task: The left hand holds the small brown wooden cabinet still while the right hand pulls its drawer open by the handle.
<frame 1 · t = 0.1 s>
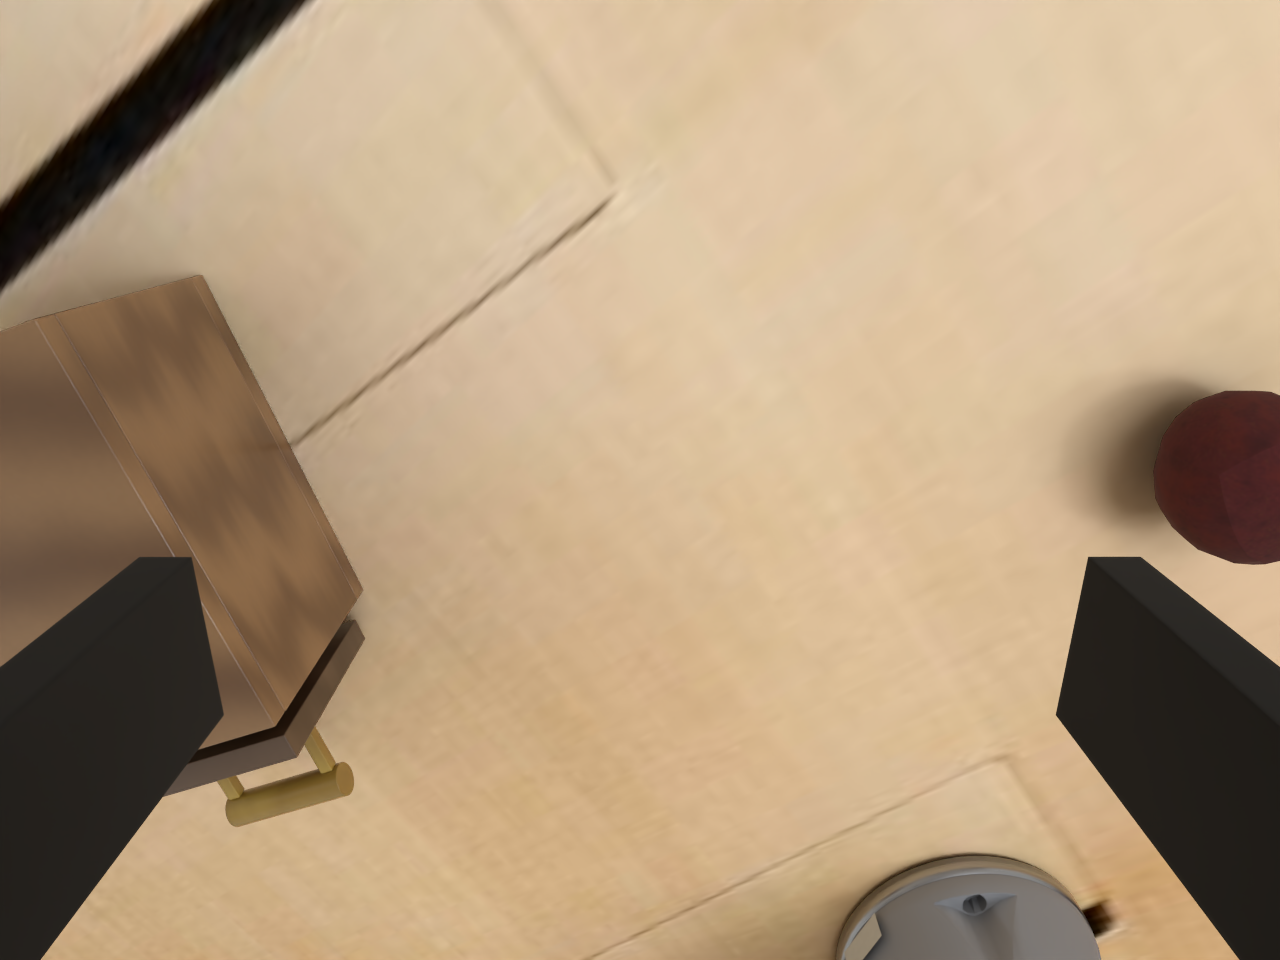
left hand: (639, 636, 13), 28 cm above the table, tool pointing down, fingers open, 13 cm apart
cabinet: (194, 474, 42), on the table
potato: (1196, 448, 41), on the table
drawer: (193, 627, 38), point 6 cm above the table, slide at 1.0 cm
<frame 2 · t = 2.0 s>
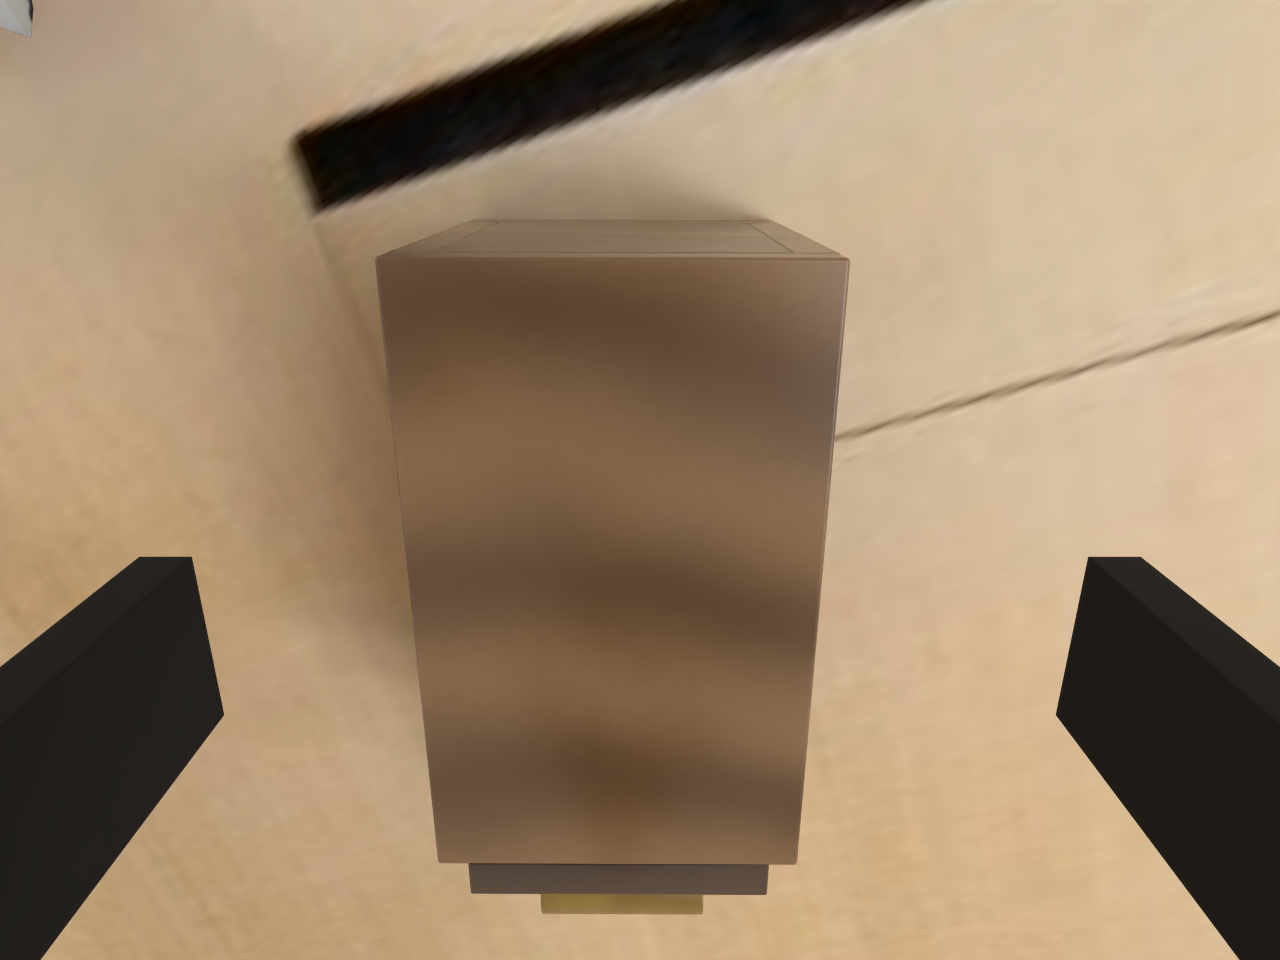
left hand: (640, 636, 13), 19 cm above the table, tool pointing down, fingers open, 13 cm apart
cabinet: (624, 455, 32), on the table
drawer: (621, 665, 28), point 6 cm above the table, slide at 1.0 cm
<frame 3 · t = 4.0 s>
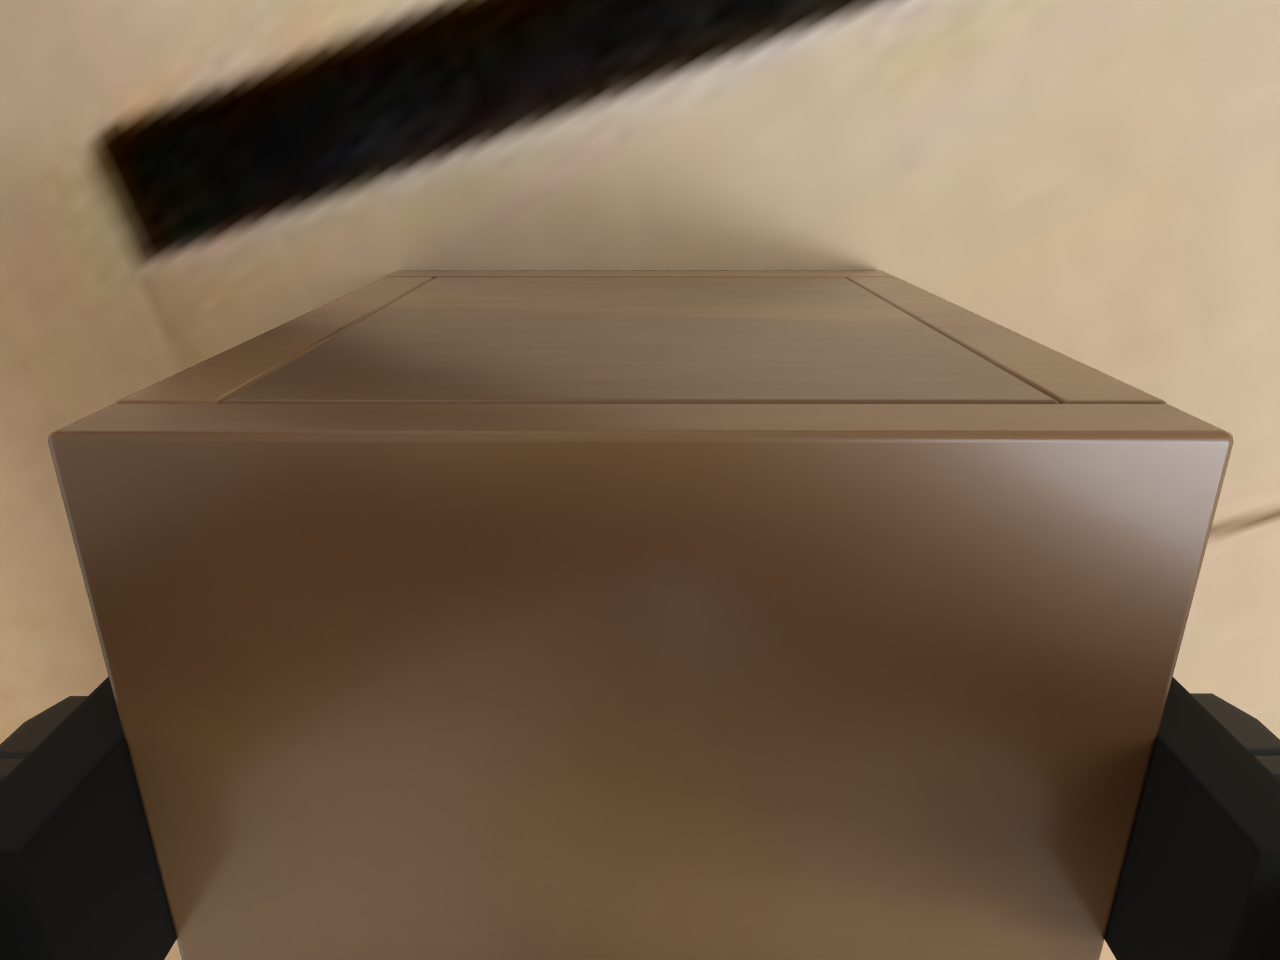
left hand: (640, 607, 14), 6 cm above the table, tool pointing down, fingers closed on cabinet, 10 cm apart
cabinet: (640, 621, 21), on the table, touching left hand
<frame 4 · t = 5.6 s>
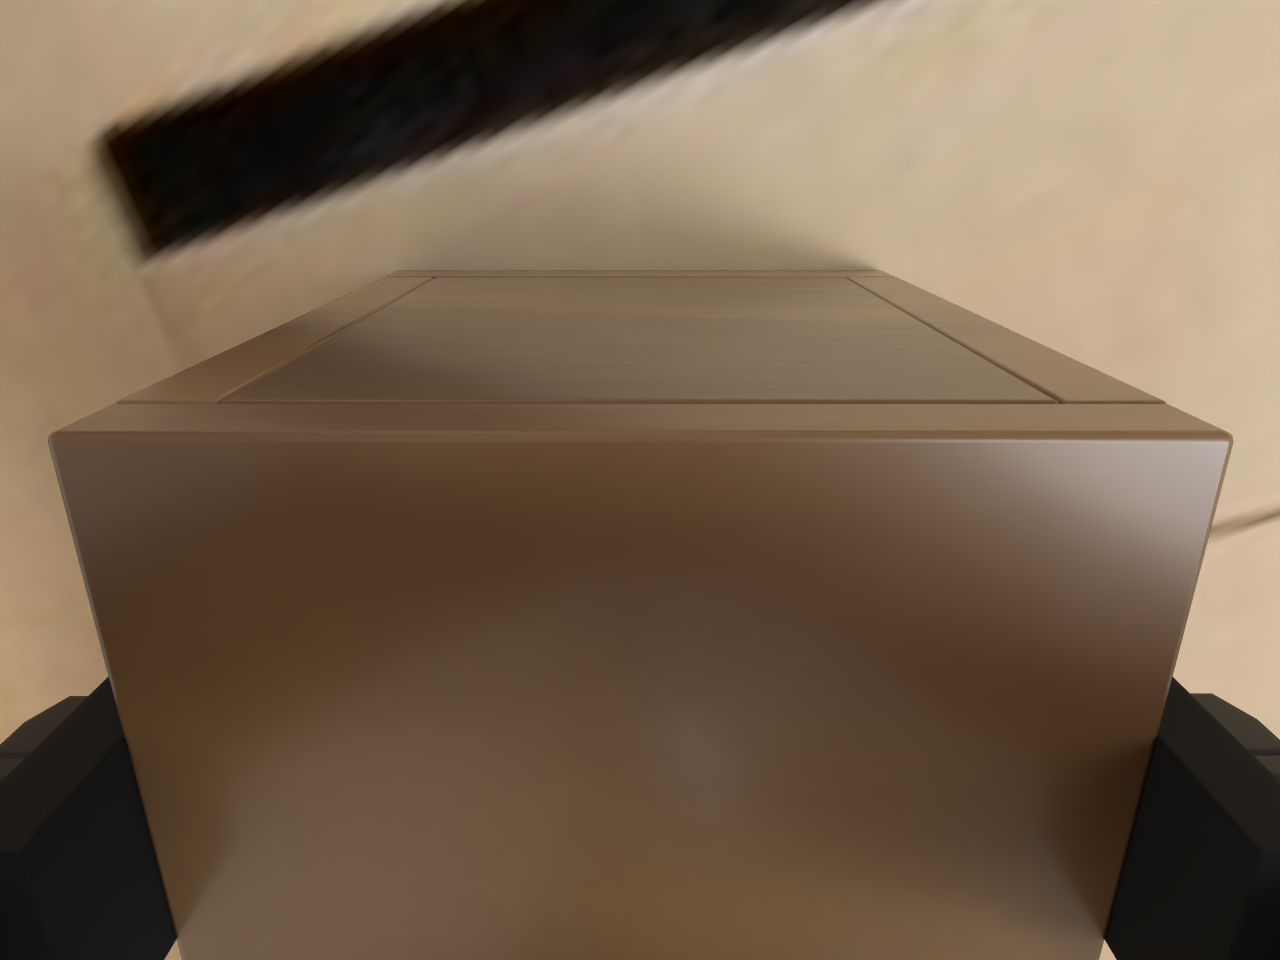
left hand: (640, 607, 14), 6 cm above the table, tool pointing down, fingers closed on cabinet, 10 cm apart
cabinet: (640, 621, 21), on the table, touching left hand
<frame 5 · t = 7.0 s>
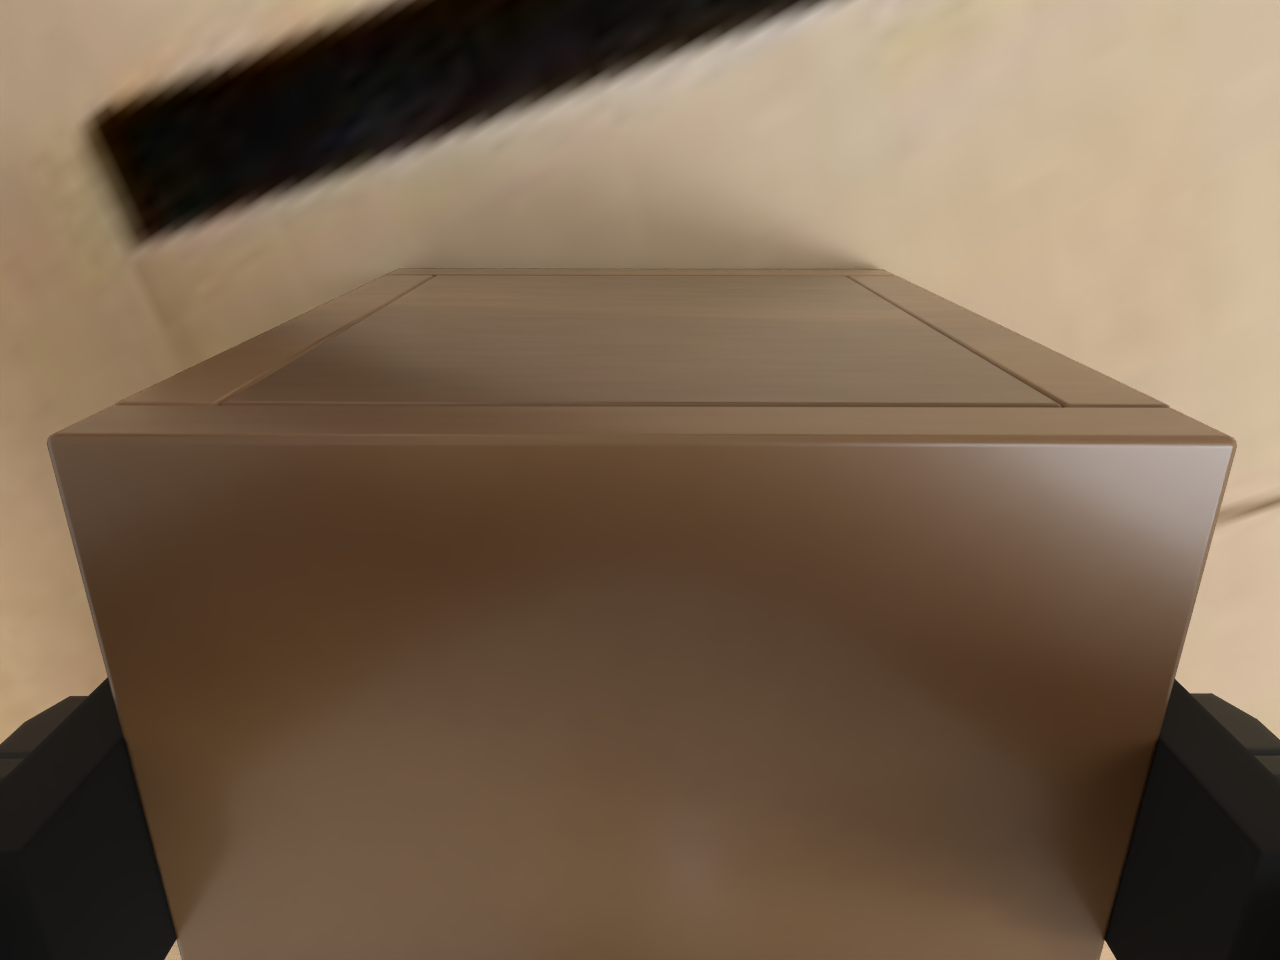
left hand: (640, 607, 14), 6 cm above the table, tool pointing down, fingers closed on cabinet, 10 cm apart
cabinet: (640, 620, 21), on the table, touching left hand
when the left hand's fingers open (6 cm above the table, at t = 8.4 s): cabinet stays where it is, on the table.
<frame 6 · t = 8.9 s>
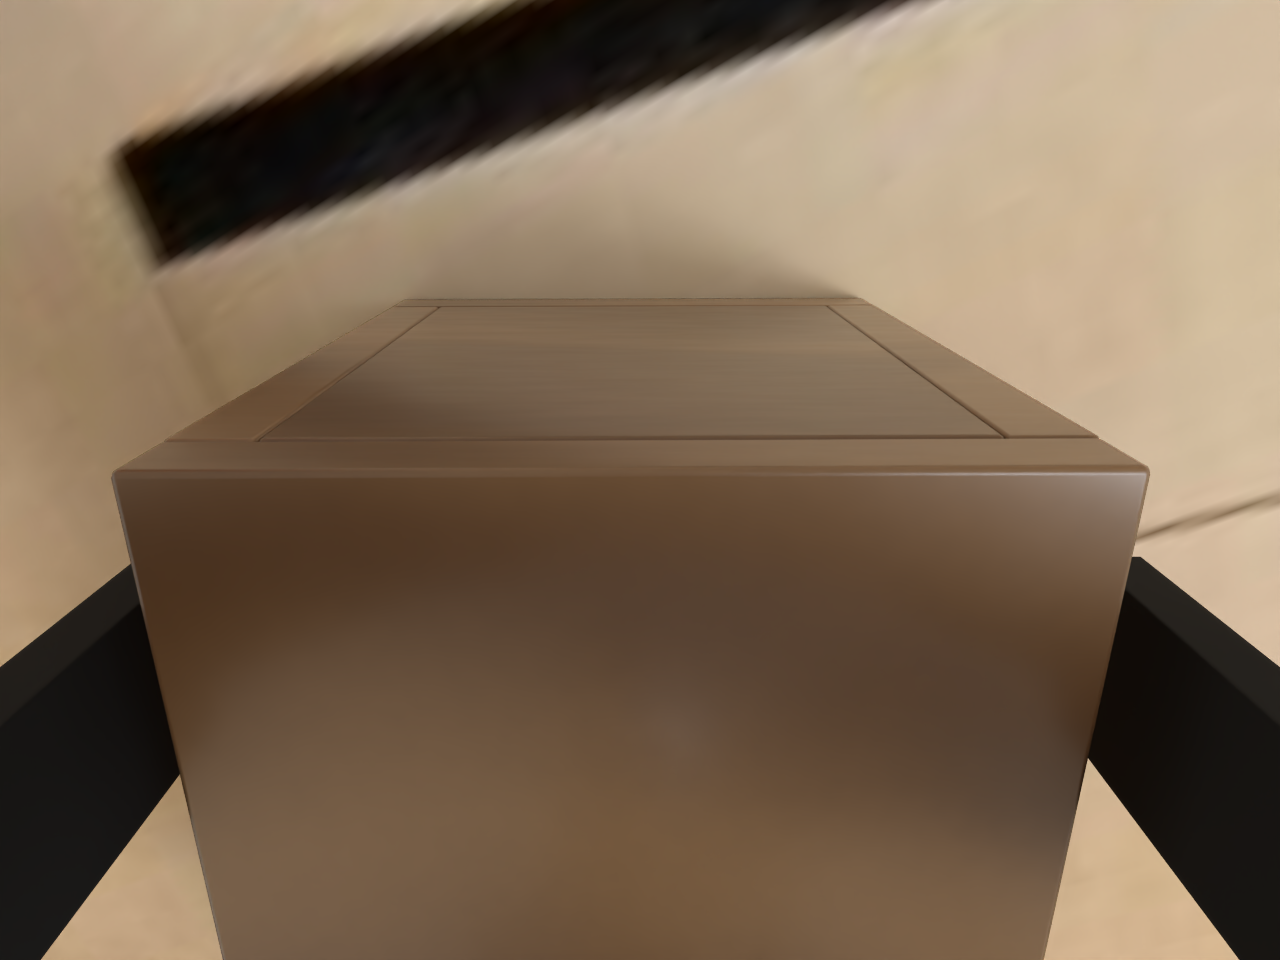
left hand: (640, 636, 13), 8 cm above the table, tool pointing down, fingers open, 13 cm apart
cabinet: (634, 630, 22), on the table
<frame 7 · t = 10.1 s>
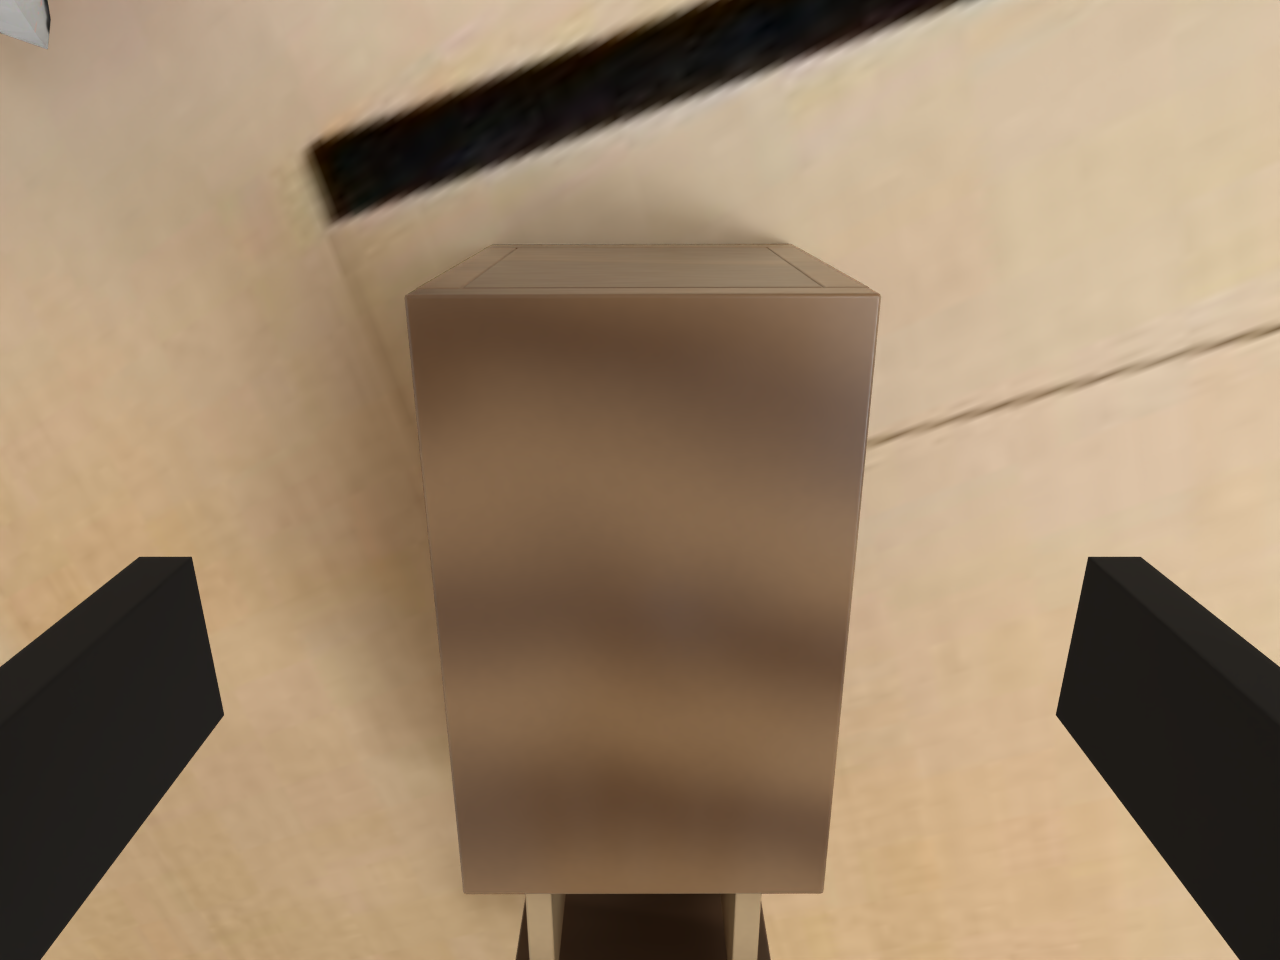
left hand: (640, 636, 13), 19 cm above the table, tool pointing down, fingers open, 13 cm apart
cabinet: (642, 477, 32), on the table
drawer: (642, 831, 31), point 6 cm above the table, slide at 7.0 cm
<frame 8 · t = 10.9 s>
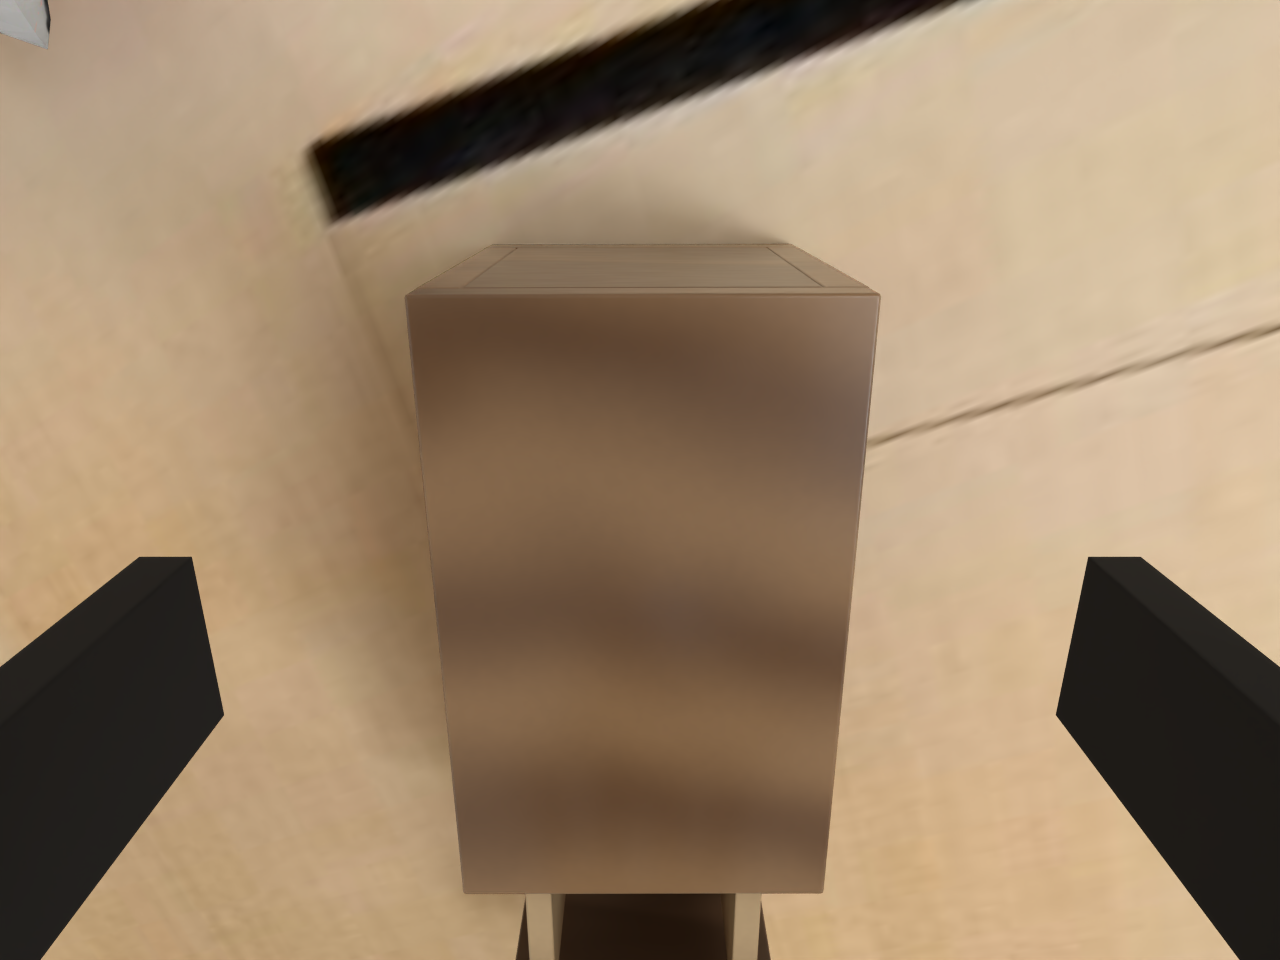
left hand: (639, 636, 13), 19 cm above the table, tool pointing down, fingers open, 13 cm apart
cabinet: (642, 477, 32), on the table
drawer: (642, 831, 31), point 6 cm above the table, slide at 7.0 cm
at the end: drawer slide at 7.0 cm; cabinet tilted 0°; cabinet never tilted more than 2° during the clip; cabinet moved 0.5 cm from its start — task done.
